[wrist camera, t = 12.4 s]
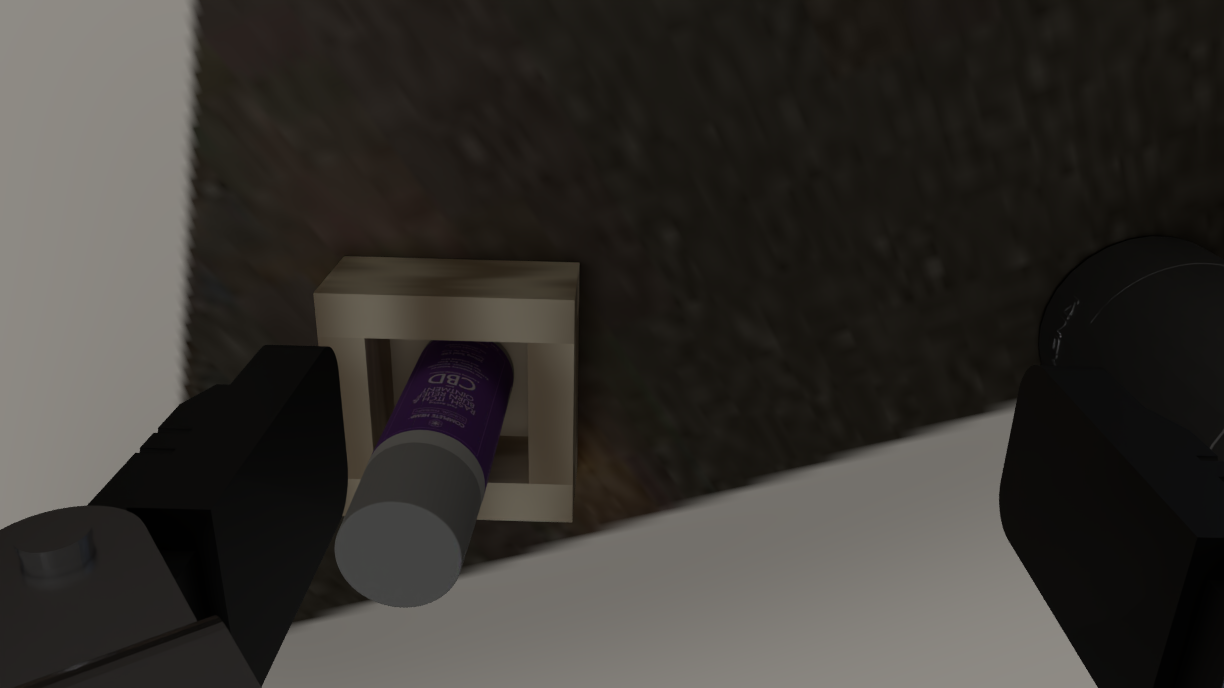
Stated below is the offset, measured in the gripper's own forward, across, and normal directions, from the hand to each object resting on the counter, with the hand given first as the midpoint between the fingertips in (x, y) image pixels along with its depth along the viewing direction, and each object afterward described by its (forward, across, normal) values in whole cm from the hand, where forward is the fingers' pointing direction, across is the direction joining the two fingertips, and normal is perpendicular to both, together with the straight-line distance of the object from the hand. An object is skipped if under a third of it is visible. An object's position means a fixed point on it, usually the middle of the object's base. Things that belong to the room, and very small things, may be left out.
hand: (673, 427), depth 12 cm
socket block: (+34, +8, +15) cm, 38 cm away
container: (+34, +8, +15) cm, 38 cm away
